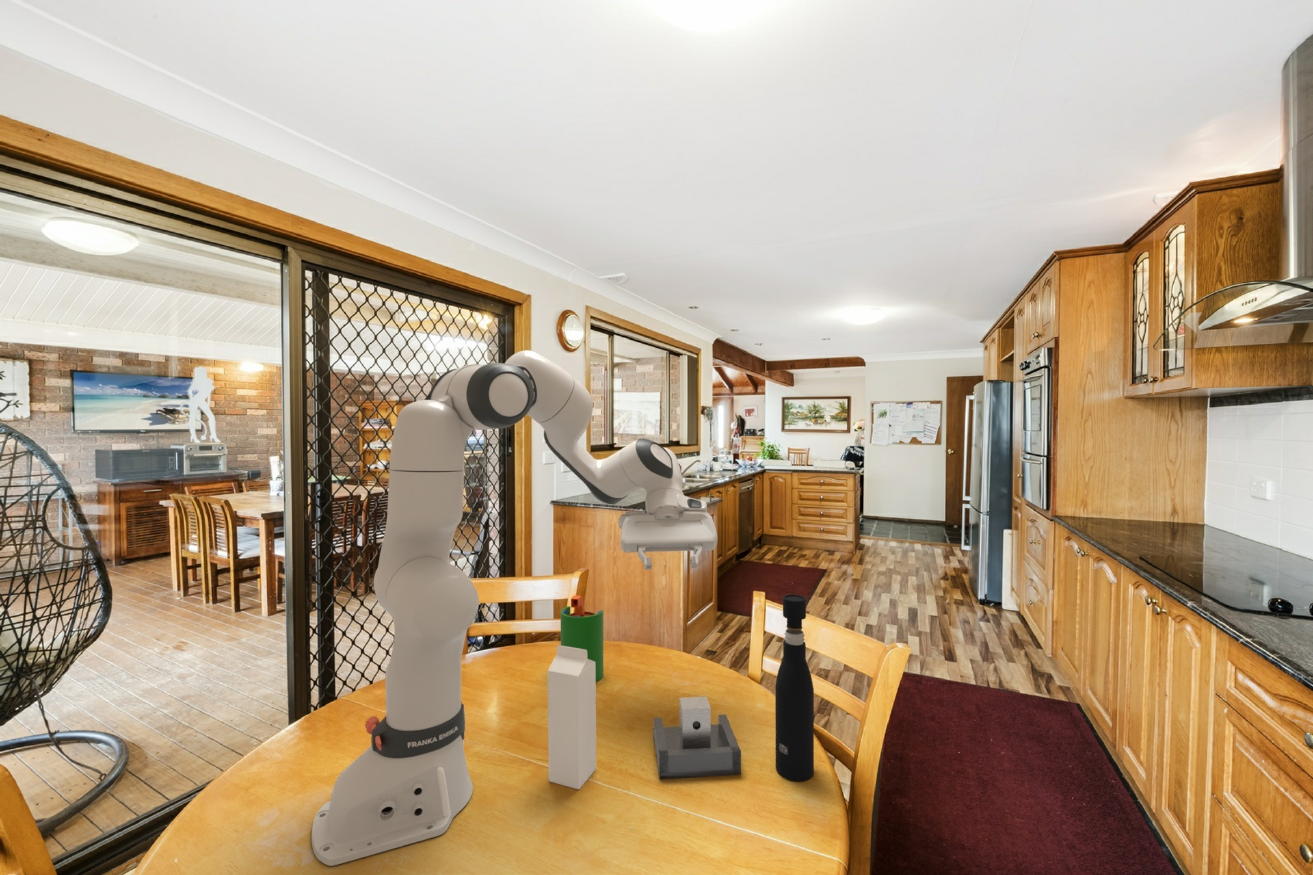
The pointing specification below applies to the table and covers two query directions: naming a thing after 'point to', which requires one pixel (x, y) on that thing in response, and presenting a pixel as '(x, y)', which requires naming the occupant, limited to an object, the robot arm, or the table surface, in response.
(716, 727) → the bracket
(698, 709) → the block
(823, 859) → the table surface
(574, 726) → the milk
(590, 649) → the green pencil holder
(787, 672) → the black water bottle
